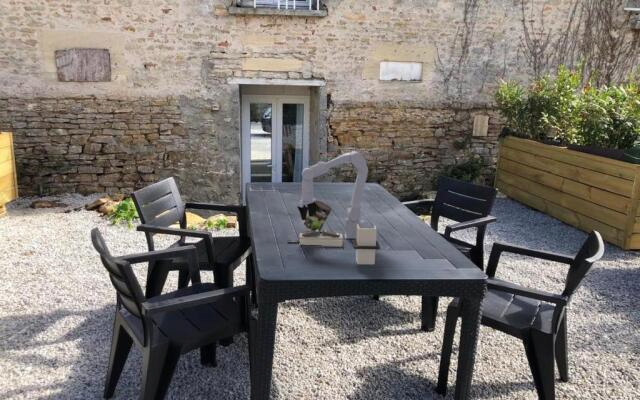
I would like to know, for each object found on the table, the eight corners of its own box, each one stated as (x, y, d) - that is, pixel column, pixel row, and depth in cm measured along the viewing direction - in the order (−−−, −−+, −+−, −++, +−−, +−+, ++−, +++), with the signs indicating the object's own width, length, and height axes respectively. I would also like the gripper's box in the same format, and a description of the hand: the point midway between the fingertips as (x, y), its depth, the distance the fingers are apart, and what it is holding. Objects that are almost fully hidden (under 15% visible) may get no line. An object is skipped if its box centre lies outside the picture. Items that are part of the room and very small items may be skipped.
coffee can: (321, 235, 247) (333, 212, 243) (304, 229, 244) (316, 205, 240) (317, 226, 256) (329, 204, 253) (301, 220, 253) (312, 198, 249)
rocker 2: (338, 236, 232) (339, 233, 232) (338, 238, 228) (339, 235, 228) (322, 232, 232) (323, 229, 232) (322, 234, 228) (323, 231, 228)
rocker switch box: (341, 240, 235) (341, 233, 235) (342, 246, 227) (342, 238, 226) (288, 239, 235) (288, 232, 234) (287, 245, 227) (287, 237, 226)
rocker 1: (319, 232, 232) (318, 228, 232) (319, 234, 228) (318, 231, 228) (303, 235, 232) (303, 232, 232) (303, 238, 228) (302, 234, 228)
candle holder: (388, 253, 219) (390, 219, 215) (398, 272, 195) (400, 235, 192) (335, 252, 218) (336, 218, 215) (338, 271, 195) (339, 234, 191)
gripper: (307, 188, 244) (307, 214, 247) (293, 193, 231) (293, 220, 234) (319, 190, 241) (319, 215, 244) (306, 195, 228) (305, 222, 231)
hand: (307, 218), depth 239 cm, fingers open, 7 cm apart
